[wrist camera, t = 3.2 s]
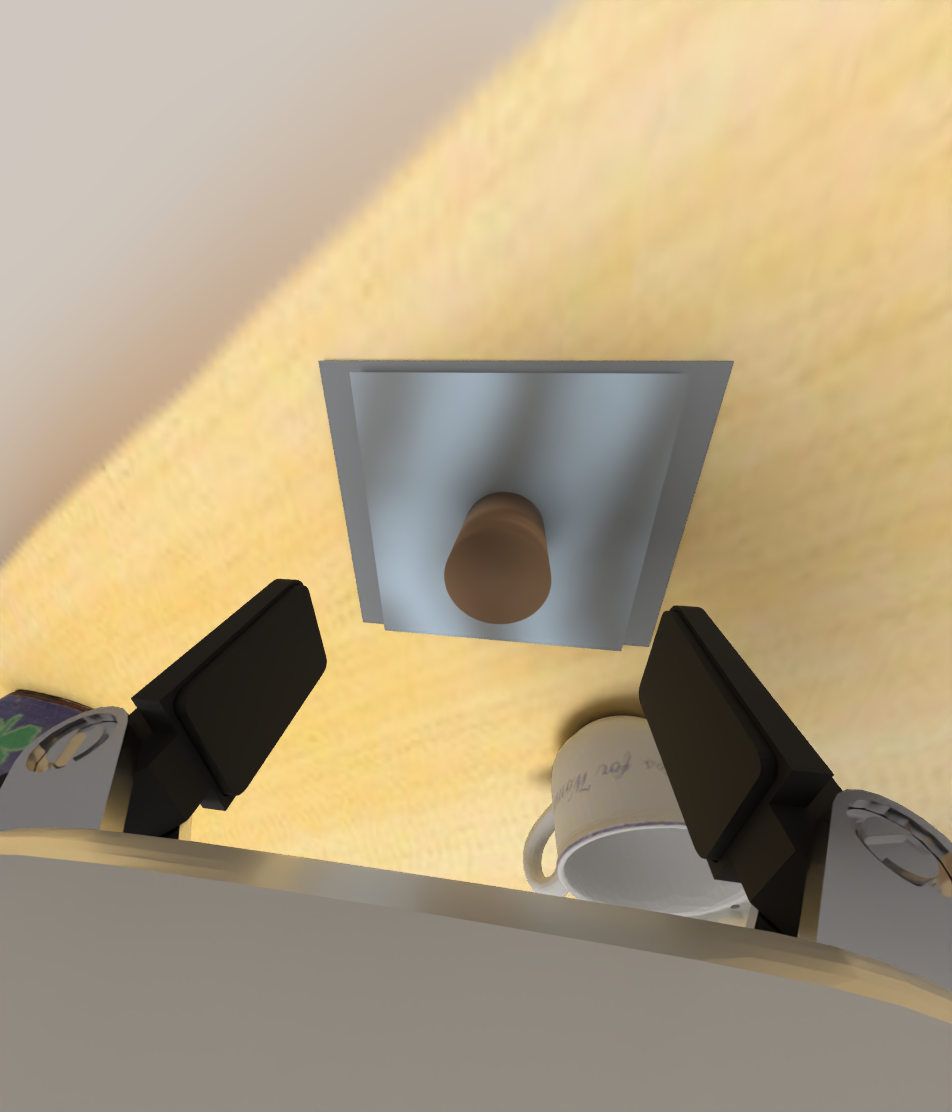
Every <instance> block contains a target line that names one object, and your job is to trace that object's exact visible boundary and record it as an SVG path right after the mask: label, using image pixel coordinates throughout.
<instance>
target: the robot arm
mask: <svg viewBox="0 0 952 1112" xmlns="http://www.w3.org/2000/svg"><path fill="white" fill-rule="evenodd" d="M326 664H327V659H326V654H325V651H324V647H323V643H322V639H321V635H320V631H319V628H318V624H317V620H316V616H315V612H314V608H313V605H312V601H311V597H310V593H309V590H308V588H307V587H306V586H304V585H303V583H302V582H301V581H299V580H290V579H276V580H274V581H273V582H271V583H270V584H269V585H268V586H267V587H265V588H264V589H263V590H262V591H260V592H259V593H258V594H257V595H256V596H254V597H253V598H252V599H251V600H250V601H248V602H247V603H246V604H245V605H243V606H242V607H241V608H240V609H239V610H237V611H236V612H235V613H234V614H233V615H231V616H230V617H229V618H228V619H226V620H225V621H224V622H223V623H222V624H220V625H219V626H218V627H217V628H216V629H214V630H213V631H212V632H211V633H209V634H208V635H207V636H206V637H205V638H203V639H202V640H201V641H200V642H199V643H197V644H196V645H195V646H194V647H192V648H191V649H190V650H189V651H188V652H186V653H185V654H184V655H183V656H182V657H180V658H179V659H178V660H177V661H175V662H174V663H173V664H172V665H171V666H169V667H168V668H167V669H166V670H165V671H163V672H162V673H161V674H160V675H158V676H157V677H156V678H155V679H154V680H152V681H151V682H150V683H149V684H148V685H146V686H145V687H144V688H143V689H141V690H140V691H139V692H138V693H137V694H135V695H134V696H133V697H132V698H131V699H132V701H133V702H134V704H135V705H136V707H137V709H135V710H134V711H133V712H132V713H131V714H130V715H129V714H128V713H127V712H126V711H125V710H124V709H123V708H119V707H115V706H111V707H100V708H97V709H93V710H89V711H86V712H83V713H81V714H78V715H76V716H73V717H71V718H69V719H67V720H65V721H63V722H61V723H59V724H58V725H56V726H54V727H52V728H51V729H49V730H48V731H46V732H45V733H43V734H42V735H41V736H39V737H38V738H36V739H35V740H34V741H33V742H32V743H31V744H30V745H28V746H27V747H26V748H25V749H24V750H23V751H22V752H21V754H20V755H19V757H18V758H17V759H16V761H15V762H14V764H13V766H12V767H11V769H10V771H9V772H7V773H5V774H2V775H0V1112H952V843H951V842H950V841H949V840H948V839H947V838H946V837H945V836H944V835H943V834H942V833H941V832H939V831H938V830H937V829H935V828H934V827H933V826H932V825H930V824H929V823H928V822H927V821H925V820H924V819H923V818H921V817H920V816H918V815H916V814H915V813H913V812H912V811H910V810H908V809H907V808H905V807H904V806H902V805H900V804H898V803H896V802H894V801H892V800H889V799H887V798H885V797H883V796H881V795H878V794H874V793H871V792H867V791H864V790H850V789H847V790H845V791H842V790H841V788H840V787H839V786H838V784H837V783H836V782H835V781H834V779H833V778H832V776H833V775H834V774H833V773H832V771H831V770H830V769H829V768H828V766H827V765H826V764H825V763H824V761H823V760H822V759H821V758H820V756H819V755H818V754H817V752H816V751H815V750H814V749H813V747H812V746H811V745H810V744H809V742H808V741H807V740H806V739H805V737H804V736H803V735H802V734H801V732H800V731H799V730H798V728H797V727H796V726H795V725H794V723H793V722H792V721H791V720H790V718H789V717H788V716H787V715H786V713H785V712H784V711H783V710H782V708H781V707H780V706H779V704H778V703H777V702H776V701H775V699H774V698H773V697H772V696H771V694H770V693H769V692H768V691H767V689H766V688H765V687H764V686H763V684H762V683H761V682H760V680H759V679H758V678H757V677H756V675H755V674H754V673H753V672H752V670H751V669H750V668H749V667H748V665H747V664H746V663H745V662H744V660H743V659H742V658H741V657H740V655H739V654H738V653H737V651H736V650H735V649H734V648H733V646H732V645H731V644H730V643H729V641H728V640H727V639H726V638H725V636H724V635H723V634H722V633H721V631H720V630H719V629H718V627H717V626H716V625H715V624H714V622H713V621H712V620H711V619H710V617H709V616H708V615H707V614H706V612H705V611H704V610H703V609H702V608H700V607H690V606H673V607H672V608H671V609H670V611H665V612H664V613H663V615H662V617H661V620H660V624H659V627H658V630H657V633H656V636H655V639H654V643H653V646H652V649H651V652H650V655H649V658H648V661H647V665H646V668H645V671H644V674H643V677H642V680H641V684H640V687H639V699H640V703H641V706H642V708H643V711H644V714H645V716H646V719H647V722H648V724H649V727H650V730H651V732H652V735H653V738H654V741H655V743H656V746H657V749H658V751H659V754H660V757H661V759H662V762H663V765H664V767H665V770H666V773H667V776H668V778H669V781H670V784H671V786H672V789H673V792H674V794H675V797H676V800H677V802H678V805H679V808H680V811H681V813H682V816H683V819H684V821H685V824H686V827H687V829H688V832H689V835H690V837H691V840H692V843H693V845H694V848H695V850H696V852H697V853H698V855H699V856H700V857H701V858H703V859H706V860H707V862H708V865H709V868H710V870H711V873H712V875H713V878H714V880H722V881H729V882H736V883H741V884H742V886H743V889H744V891H745V893H746V895H747V898H748V899H747V900H745V901H743V902H741V903H739V904H736V905H732V906H731V907H730V908H726V909H723V910H720V911H717V912H710V913H706V914H702V915H696V916H687V917H684V916H678V915H673V914H667V913H661V912H655V911H649V910H642V909H636V908H630V907H623V906H617V905H611V904H604V903H598V902H591V901H585V900H579V899H572V898H566V897H559V896H553V895H547V894H540V893H534V892H527V891H521V890H515V889H508V888H502V887H496V886H489V885H482V884H476V883H469V882H463V881H456V880H449V879H443V878H436V877H430V876H423V875H416V874H410V873H403V872H397V871H390V870H383V869H377V868H370V867H363V866H357V865H350V864H343V863H337V862H330V861H323V860H317V859H310V858H303V857H296V856H289V855H282V854H275V853H268V852H261V851H255V850H248V849H241V848H234V847H227V846H220V845H213V844H206V843H199V842H193V841H191V824H192V814H193V813H194V811H195V810H196V809H197V807H198V806H199V805H200V804H201V806H202V807H203V808H208V809H215V810H222V811H226V810H227V808H228V807H229V805H230V804H231V802H232V801H233V799H234V798H235V796H238V795H240V794H241V793H242V792H244V791H245V789H246V788H247V787H248V785H249V784H250V782H251V781H252V779H253V778H254V776H255V775H256V773H257V772H258V770H259V769H260V767H261V766H262V764H263V763H264V761H265V760H266V758H267V757H268V755H269V754H270V752H271V751H272V749H273V748H274V746H275V745H276V743H277V742H278V740H279V739H280V737H281V736H282V734H283V733H284V731H285V730H286V728H287V727H288V725H289V724H290V722H291V721H292V719H293V718H294V716H295V715H296V713H297V712H298V710H299V709H300V707H301V706H302V704H303V703H304V701H305V700H306V698H307V697H308V695H309V694H310V692H311V691H312V689H313V688H314V686H315V685H316V683H317V682H318V680H319V679H320V677H321V676H322V674H323V673H324V671H325V668H326Z"/></svg>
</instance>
